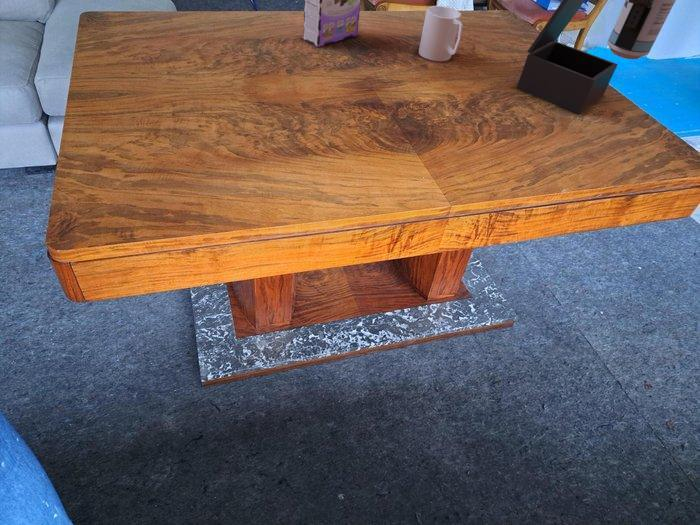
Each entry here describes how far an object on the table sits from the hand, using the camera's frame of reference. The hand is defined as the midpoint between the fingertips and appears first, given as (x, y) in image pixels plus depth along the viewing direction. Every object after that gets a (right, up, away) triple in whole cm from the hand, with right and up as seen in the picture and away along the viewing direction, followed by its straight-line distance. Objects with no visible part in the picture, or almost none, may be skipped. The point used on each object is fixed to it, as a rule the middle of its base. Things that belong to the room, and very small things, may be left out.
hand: (630, 41), depth 86 cm
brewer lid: (-1, +16, +23) cm, 28 cm away
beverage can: (0, -2, +2) cm, 2 cm away
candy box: (-53, +19, +43) cm, 70 cm away
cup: (-25, +13, +40) cm, 50 cm away
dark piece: (+1, +2, +32) cm, 33 cm away
